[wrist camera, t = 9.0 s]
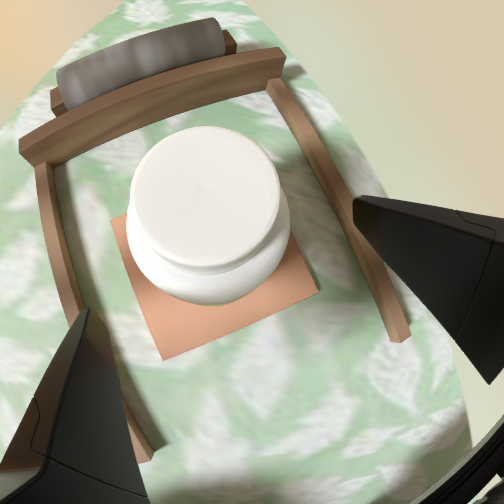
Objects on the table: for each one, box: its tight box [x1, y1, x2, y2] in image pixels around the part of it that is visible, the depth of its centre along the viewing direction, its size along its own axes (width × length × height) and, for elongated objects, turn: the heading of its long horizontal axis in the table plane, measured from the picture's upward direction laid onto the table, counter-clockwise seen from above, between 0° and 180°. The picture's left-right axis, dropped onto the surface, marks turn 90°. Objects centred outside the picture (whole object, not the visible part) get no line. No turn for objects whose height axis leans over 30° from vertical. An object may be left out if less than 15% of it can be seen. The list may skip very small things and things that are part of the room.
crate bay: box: [19, 17, 411, 464], centre depth 15 cm, size 25×19×5 cm
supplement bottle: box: [126, 126, 290, 307], centre depth 12 cm, size 6×6×10 cm
